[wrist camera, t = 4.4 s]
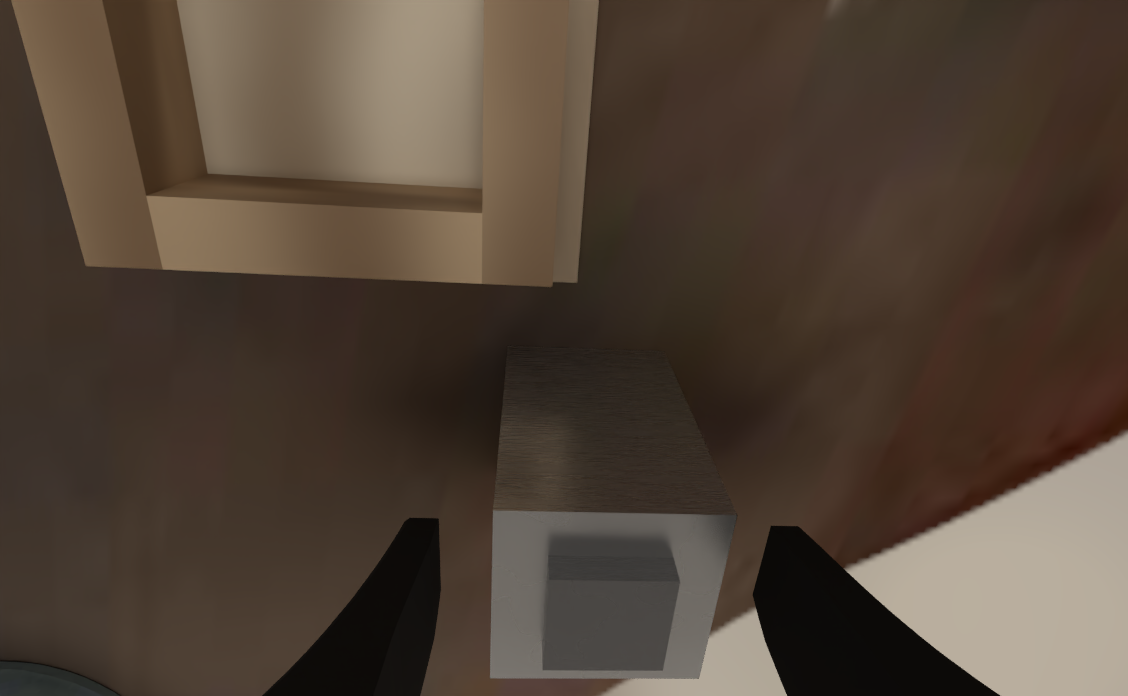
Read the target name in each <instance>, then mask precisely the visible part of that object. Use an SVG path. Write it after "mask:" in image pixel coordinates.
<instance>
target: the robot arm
mask: <svg viewBox="0 0 1128 696" xmlns="http://www.w3.org/2000/svg"><path fill="white" fill-rule="evenodd" d="M440 592H441V581H440V548H439V519H436V518H409V519H408V520H406V521H405V522H404V524H403V525H402V527H401V529H400V531H399V532H398V534H397V535H396V537H395V539H394V540H393V542H392V543H391V545H390V547H389V548H388V550H387V551H386V553H385V554H384V556H383V557H382V558H381V560H380V561H379V563H378V564H377V566H376V567H375V569H374V570H373V571H372V573H371V574H370V575H369V577H368V578H367V579H366V581H365V582H364V583H363V585H362V586H361V588H360V589H359V590H358V592H357V593H356V594H355V596H354V597H353V598H352V599H351V601H350V602H349V603H348V604H347V605H346V607H345V608H344V609H343V610H342V612H341V613H340V614H339V615H338V616H337V618H336V619H335V620H334V621H333V622H332V624H331V625H330V626H329V627H328V628H327V630H326V631H325V632H324V633H323V634H322V635H321V636H320V638H319V639H318V640H317V641H316V642H315V643H314V644H313V645H312V646H311V647H310V649H309V650H308V651H307V652H306V653H305V654H304V655H303V656H302V657H301V658H300V659H299V660H298V661H297V662H296V663H295V664H294V665H293V666H292V667H291V668H290V669H289V670H288V671H287V672H286V673H285V674H284V675H283V676H282V677H281V678H280V679H279V680H278V681H277V682H276V683H275V684H274V685H273V686H272V687H271V688H270V689H269V690H268V691H267V692H266V693H265V694H263V695H262V696H420V694H421V690H422V686H423V682H424V678H425V674H426V670H427V666H428V662H429V658H430V653H431V649H432V645H433V641H434V636H435V629H436V622H437V615H438V607H439V600H440ZM753 598H754V601H755V605H756V609H757V613H758V617H759V621H760V624H761V628H762V631H763V635H764V638H765V642H766V644H767V647H768V649H769V652H770V655H771V657H772V659H773V662H774V664H775V667H776V669H777V672H778V674H779V677H780V679H781V682H782V684H783V687H784V689H785V692H786V694H787V696H1000V695H999V694H997V693H996V692H994V691H993V690H991V689H990V688H988V687H987V686H986V685H984V684H983V683H981V682H980V681H978V680H977V679H975V678H974V677H972V676H971V675H970V674H969V673H967V672H966V671H965V670H963V669H962V668H961V667H959V666H958V665H956V664H955V663H954V662H952V661H951V660H949V659H948V658H947V657H945V656H944V655H943V654H942V653H940V652H939V651H938V650H936V649H935V648H934V647H933V646H931V645H930V644H929V643H928V642H926V641H925V640H924V639H922V638H921V637H920V636H919V635H918V634H916V633H915V632H914V631H913V630H912V629H910V628H909V627H908V626H907V625H906V624H905V623H903V622H902V621H901V620H900V619H899V618H897V617H896V616H895V615H894V614H892V612H890V611H889V610H888V609H887V608H886V607H885V606H884V605H882V604H881V603H880V602H879V601H878V600H877V599H875V597H873V596H872V595H871V594H870V593H869V592H868V591H867V590H866V589H865V588H864V587H862V586H861V585H860V584H859V583H858V582H857V581H856V580H855V579H854V578H853V577H852V576H851V575H850V574H848V573H847V572H846V571H845V570H844V569H843V568H842V567H841V566H840V565H839V564H838V563H837V562H836V561H835V560H834V559H833V558H832V557H831V556H829V555H828V554H827V553H826V552H825V551H824V550H823V549H822V548H821V547H820V546H819V545H818V544H817V543H816V542H815V541H814V540H813V539H812V538H810V537H809V536H808V535H807V534H806V533H805V532H804V531H803V530H802V529H801V528H799V527H798V526H771V528H770V532H769V536H768V539H767V543H766V547H765V551H764V554H763V558H762V562H761V566H760V569H759V573H758V577H757V581H756V584H755V588H754V592H753Z"/></svg>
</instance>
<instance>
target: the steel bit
mask: <svg viewBox="0 0 1128 696" xmlns="http://www.w3.org/2000/svg"><path fill="white" fill-rule="evenodd" d="M736 518H737V514H736V511H735V509H734V507H733V505H732V502H731V500H730V498H729V496H728V493H727V491H726V489H725V487H724V484H723V482H722V480H721V478H720V475H719V473H718V471H717V469H716V466H715V464H714V462H713V460H712V457H711V455H710V453H709V451H708V448H707V446H706V444H705V442H704V439H703V437H702V435H701V433H700V430H699V428H698V426H697V424H696V421H695V419H694V417H693V415H692V412H691V410H690V408H689V406H688V403H687V401H686V399H685V397H684V394H683V392H682V390H681V388H680V385H679V383H678V381H677V379H676V376H675V374H674V372H673V370H672V367H671V365H670V363H669V361H668V358H667V356H666V354H665V352H664V351H644V350H617V349H591V348H564V347H538V346H511V345H508V348H507V360H506V371H505V382H504V393H503V404H502V416H501V427H500V438H499V449H498V461H497V472H496V483H495V494H494V505H493V542H492V598H491V655H490V678H675V679H679V678H681V679H686V678H687V679H689V678H690V679H692V678H693V679H695V678H697V679H699V676H700V672H701V668H702V663H703V659H704V655H705V651H706V646H707V642H708V638H709V634H710V629H711V625H712V621H713V617H714V612H715V608H716V604H717V599H718V595H719V591H720V587H721V582H722V578H723V574H724V570H725V565H726V561H727V557H728V553H729V548H730V544H731V540H732V536H733V531H734V527H735V523H736Z"/></svg>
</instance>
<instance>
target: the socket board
mask: <svg viewBox="0 0 1128 696" xmlns="http://www.w3.org/2000/svg"><path fill="white" fill-rule="evenodd" d="M11 1H12V5H13V8H14V12H15V15H16V19H17V22H18V26H19V29H20V33H21V37H22V40H23V44H24V47H25V51H26V54H27V58H28V62H29V65H30V69H31V72H32V76H33V79H34V83H35V86H36V90H37V94H38V97H39V101H40V104H41V108H42V111H43V115H44V118H45V122H46V126H47V129H48V133H49V136H50V140H51V143H52V147H53V151H54V154H55V158H56V161H57V165H58V168H59V172H60V175H61V179H62V183H63V186H64V190H65V193H66V197H67V200H68V204H69V208H70V211H71V215H72V218H73V222H74V225H75V229H76V232H77V236H78V240H79V243H80V247H81V250H82V254H83V257H84V261H85V264H86V266H96V267H118V268H140V269H163V270H185V271H207V272H229V273H252V274H274V275H296V276H319V277H341V278H363V279H386V280H408V281H430V282H452V283H475V284H497V285H519V286H542V287H552V285H553V282H569V283H577V277H578V264H579V251H580V238H581V225H582V212H583V199H584V186H585V173H586V160H587V147H588V134H589V121H590V108H591V95H592V82H593V69H594V56H595V43H596V30H597V17H598V4H599V0H11Z"/></svg>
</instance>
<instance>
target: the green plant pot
mask: <svg viewBox="0 0 1128 696" xmlns="http://www.w3.org/2000/svg"><path fill="white" fill-rule="evenodd" d="M0 696H119V695H118V694H116V693H115V692H113V691H111V690H109V689H107V688H105V687H104V686H102V685H100V684H98V683H96V682H94V681H91V680H89V679H87V678H85V677H82V676H79V675H77V674H74V673H71V672H68V671H65V670H61V669H57V668H53V667H49V666H45V665H39V664H33V663H24V662H0Z"/></svg>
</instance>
